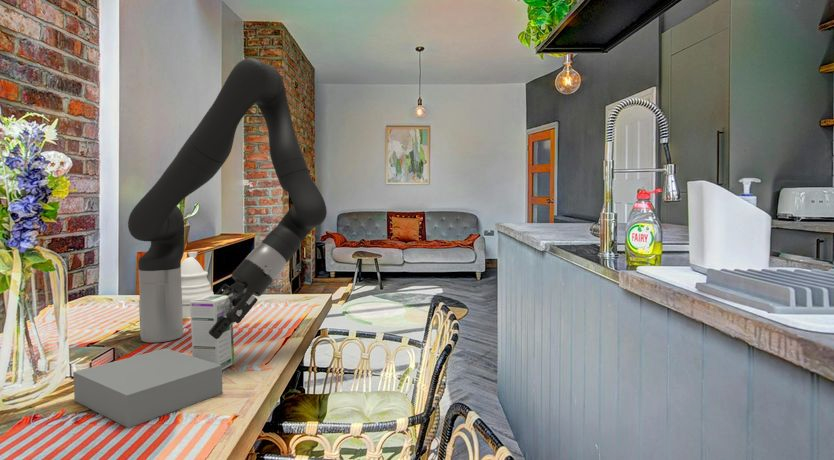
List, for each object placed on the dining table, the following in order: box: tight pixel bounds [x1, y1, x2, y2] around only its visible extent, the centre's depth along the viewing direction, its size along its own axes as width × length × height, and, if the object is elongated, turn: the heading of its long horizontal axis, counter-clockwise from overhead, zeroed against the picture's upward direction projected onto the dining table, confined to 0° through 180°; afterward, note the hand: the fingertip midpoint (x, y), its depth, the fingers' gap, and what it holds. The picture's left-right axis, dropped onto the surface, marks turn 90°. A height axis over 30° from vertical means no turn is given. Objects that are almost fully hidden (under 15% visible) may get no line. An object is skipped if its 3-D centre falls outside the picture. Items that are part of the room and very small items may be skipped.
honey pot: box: [181, 251, 215, 318], centre depth 149 cm, size 13×13×18 cm
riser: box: [72, 347, 224, 429], centre depth 86 cm, size 18×16×5 cm
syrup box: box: [190, 294, 235, 371], centre depth 100 cm, size 6×6×14 cm
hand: (205, 332), depth 99 cm, fingers closed on syrup box, 7 cm apart
